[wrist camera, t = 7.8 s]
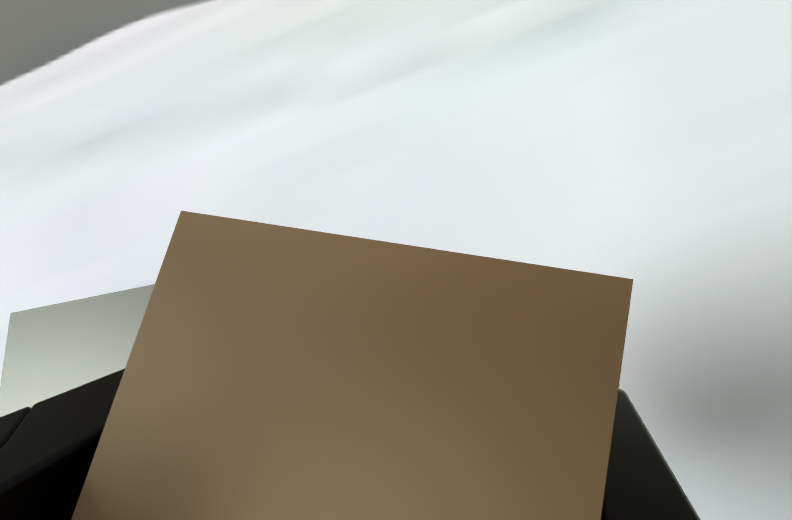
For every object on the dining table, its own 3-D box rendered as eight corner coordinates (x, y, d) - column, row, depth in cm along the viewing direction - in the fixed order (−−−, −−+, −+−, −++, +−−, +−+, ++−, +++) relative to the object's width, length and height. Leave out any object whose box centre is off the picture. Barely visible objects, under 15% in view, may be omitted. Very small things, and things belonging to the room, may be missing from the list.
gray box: (308, 583, 21) (255, 617, 17) (57, 596, 23) (-35, 627, 20) (296, 289, 25) (251, 264, 21) (83, 328, 27) (10, 313, 24)
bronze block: (546, 574, 12) (536, 988, 3) (369, 515, 14) (12, 685, 5) (576, 382, 13) (632, 279, 4) (409, 345, 15) (181, 210, 6)
